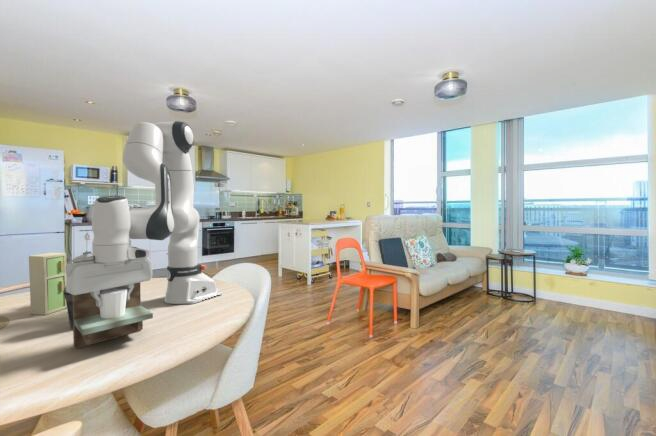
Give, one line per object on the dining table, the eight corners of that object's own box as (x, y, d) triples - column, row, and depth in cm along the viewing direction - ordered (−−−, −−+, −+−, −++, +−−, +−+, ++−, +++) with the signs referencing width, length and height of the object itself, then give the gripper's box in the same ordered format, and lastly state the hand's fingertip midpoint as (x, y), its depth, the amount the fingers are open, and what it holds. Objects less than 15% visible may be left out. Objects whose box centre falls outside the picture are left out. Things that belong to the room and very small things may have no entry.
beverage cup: (75, 322, 101) (74, 262, 100) (99, 322, 102) (97, 262, 101) (58, 331, 94) (56, 267, 93) (83, 331, 94) (81, 267, 94)
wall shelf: (138, 329, 96) (137, 259, 95) (153, 340, 88) (151, 264, 87) (73, 346, 84) (71, 267, 83) (83, 361, 76) (81, 273, 75)
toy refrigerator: (46, 315, 107) (44, 256, 106) (29, 314, 108) (28, 255, 108) (69, 308, 115) (68, 253, 114) (54, 306, 116) (52, 252, 115)
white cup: (91, 317, 84) (91, 292, 84) (116, 309, 90) (116, 285, 90) (108, 321, 81) (108, 295, 81) (133, 312, 88) (133, 289, 88)
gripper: (70, 260, 75) (71, 316, 75) (155, 250, 92) (155, 295, 92) (60, 258, 78) (62, 311, 78) (144, 248, 95) (144, 292, 96)
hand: (113, 302), depth 86 cm, fingers closed on white cup, 5 cm apart
